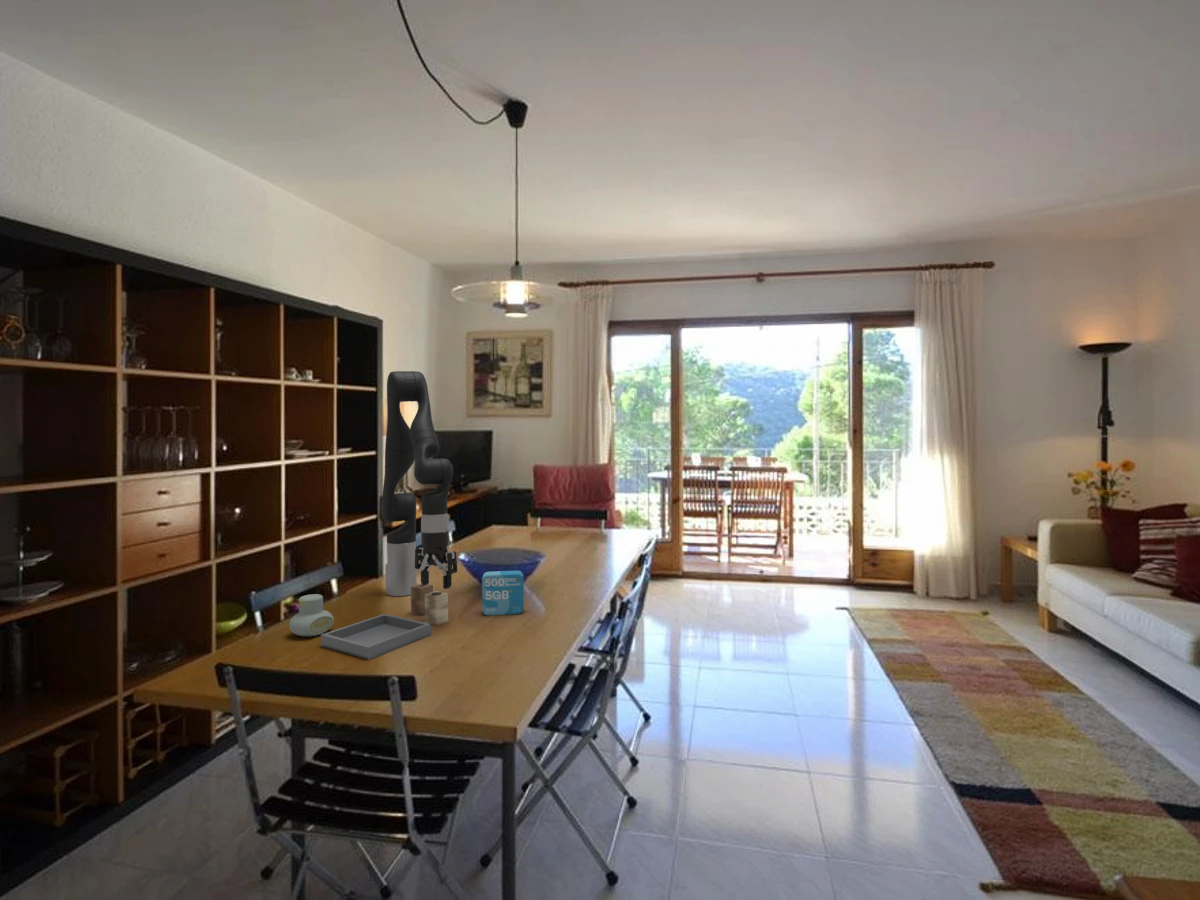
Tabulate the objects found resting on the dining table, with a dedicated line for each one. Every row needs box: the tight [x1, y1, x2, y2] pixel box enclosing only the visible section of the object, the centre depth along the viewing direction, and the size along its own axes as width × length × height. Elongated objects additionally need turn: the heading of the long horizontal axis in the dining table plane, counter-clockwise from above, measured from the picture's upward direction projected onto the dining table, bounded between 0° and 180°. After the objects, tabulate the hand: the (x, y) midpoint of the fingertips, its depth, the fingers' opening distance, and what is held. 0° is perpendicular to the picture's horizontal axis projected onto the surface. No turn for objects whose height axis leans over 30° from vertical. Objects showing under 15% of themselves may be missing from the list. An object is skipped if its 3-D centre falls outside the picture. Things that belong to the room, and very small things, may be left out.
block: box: [424, 590, 449, 626], centre depth 178 cm, size 4×4×8 cm
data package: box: [481, 570, 525, 617], centre depth 186 cm, size 12×4×12 cm, turn 98°
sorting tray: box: [320, 613, 432, 661], centre depth 163 cm, size 18×20×3 cm
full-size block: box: [410, 583, 434, 616], centre depth 187 cm, size 4×4×8 cm
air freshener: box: [288, 593, 335, 638], centre depth 169 cm, size 11×8×10 cm
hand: (436, 586), depth 178 cm, fingers open, 8 cm apart
